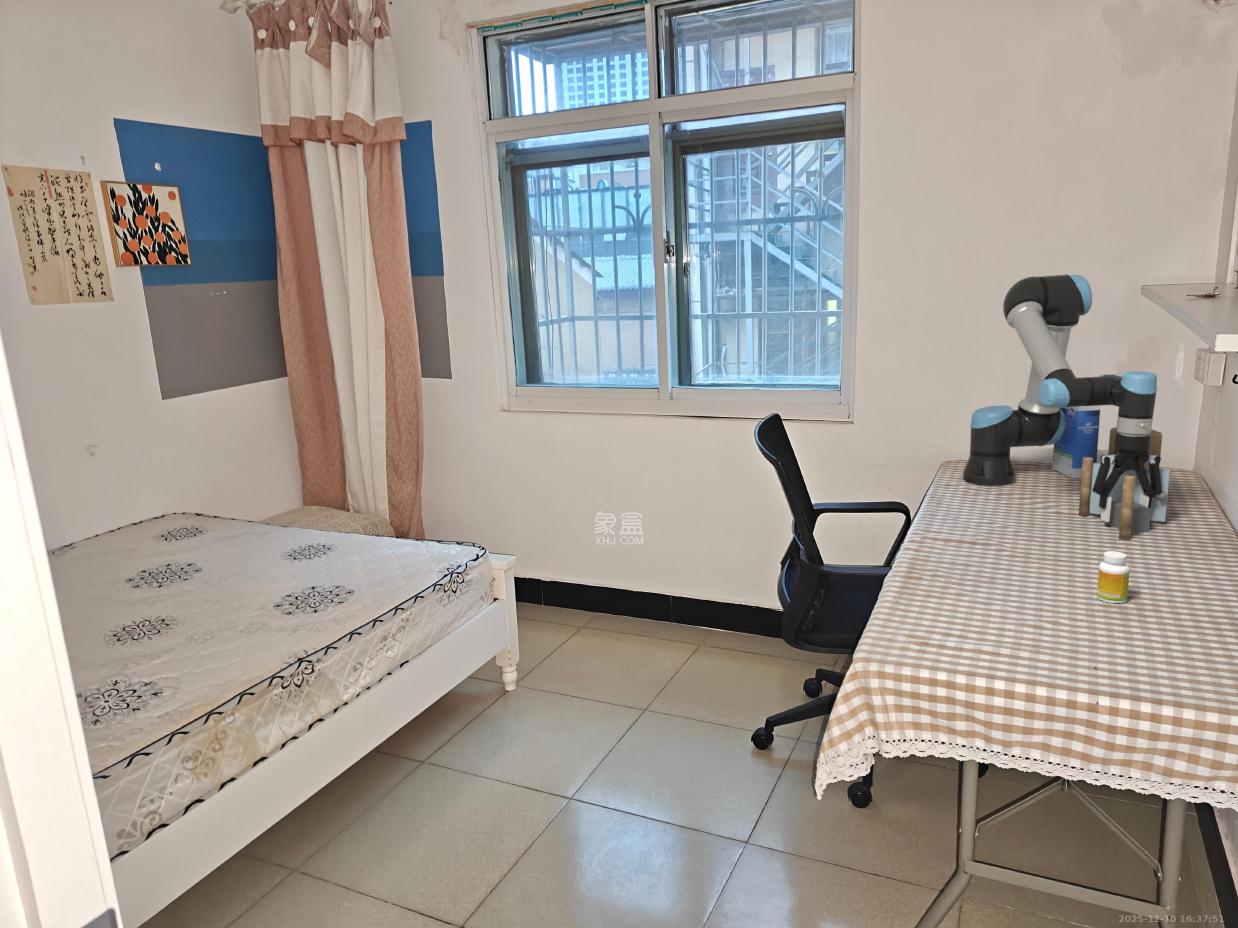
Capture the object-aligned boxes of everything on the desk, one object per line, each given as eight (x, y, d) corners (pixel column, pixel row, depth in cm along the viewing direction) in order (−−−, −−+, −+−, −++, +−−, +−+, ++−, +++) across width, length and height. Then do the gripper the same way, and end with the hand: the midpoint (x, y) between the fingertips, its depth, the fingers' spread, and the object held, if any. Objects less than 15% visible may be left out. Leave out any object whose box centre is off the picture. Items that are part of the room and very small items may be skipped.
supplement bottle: (1126, 605, 167) (1130, 560, 165) (1095, 601, 170) (1099, 556, 168) (1127, 596, 171) (1131, 551, 169) (1097, 592, 174) (1100, 548, 172)
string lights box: (1096, 478, 262) (1102, 396, 256) (1072, 479, 262) (1078, 398, 256) (1073, 468, 275) (1078, 390, 269) (1050, 469, 275) (1055, 392, 269)
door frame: (1077, 514, 227) (1081, 456, 223) (1086, 513, 227) (1090, 456, 223) (1122, 540, 205) (1127, 477, 201) (1132, 540, 204) (1137, 476, 201)
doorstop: (1107, 523, 218) (1109, 501, 217) (1131, 522, 218) (1133, 500, 216) (1124, 532, 210) (1126, 510, 209) (1148, 532, 210) (1150, 509, 209)
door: (1088, 514, 222) (1092, 465, 219) (1090, 511, 225) (1094, 463, 222) (1163, 523, 212) (1168, 472, 209) (1165, 520, 215) (1170, 469, 212)
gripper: (1097, 437, 206) (1087, 524, 211) (1186, 436, 205) (1174, 524, 210) (1082, 431, 214) (1073, 516, 218) (1168, 430, 212) (1157, 516, 217)
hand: (1123, 520), depth 214 cm, fingers open, 8 cm apart
